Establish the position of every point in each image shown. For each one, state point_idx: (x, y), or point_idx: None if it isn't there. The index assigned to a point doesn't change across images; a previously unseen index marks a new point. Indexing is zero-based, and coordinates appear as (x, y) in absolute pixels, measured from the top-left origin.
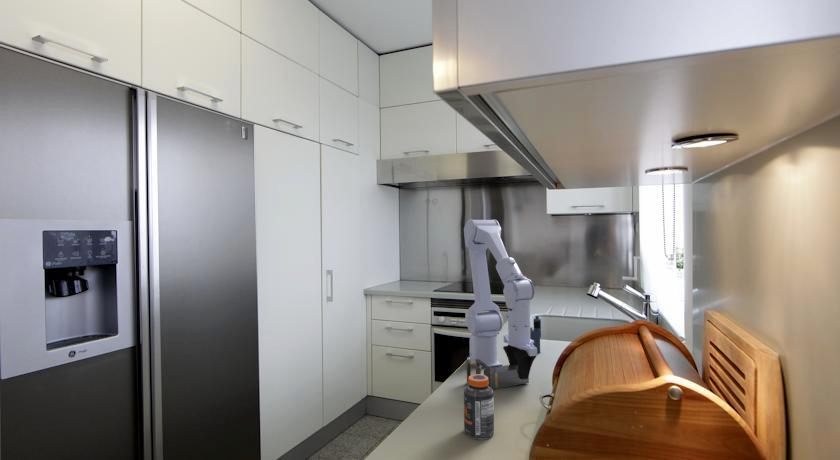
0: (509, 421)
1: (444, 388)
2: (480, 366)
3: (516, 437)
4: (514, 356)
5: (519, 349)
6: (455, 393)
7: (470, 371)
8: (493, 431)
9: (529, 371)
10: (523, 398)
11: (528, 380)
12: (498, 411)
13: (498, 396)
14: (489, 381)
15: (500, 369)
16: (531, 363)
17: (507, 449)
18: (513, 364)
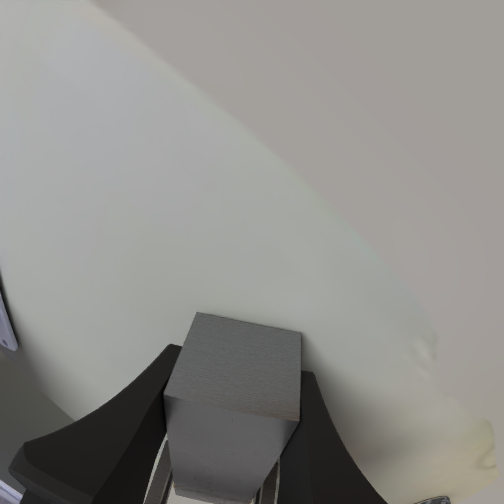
0: (447, 476)
1: None
2: (15, 347)
3: (482, 476)
4: (143, 470)
5: (113, 501)
6: None
7: (167, 496)
8: (449, 501)
9: (327, 411)
10: (404, 423)
11: (299, 346)
12: (400, 482)
13: None
14: (273, 497)
15: (222, 486)
16: (353, 469)
17: (482, 486)
18: (170, 430)
